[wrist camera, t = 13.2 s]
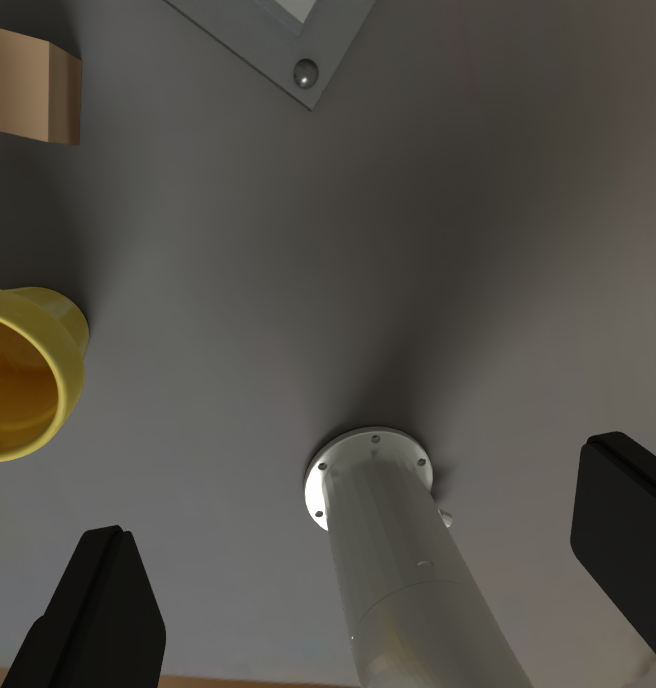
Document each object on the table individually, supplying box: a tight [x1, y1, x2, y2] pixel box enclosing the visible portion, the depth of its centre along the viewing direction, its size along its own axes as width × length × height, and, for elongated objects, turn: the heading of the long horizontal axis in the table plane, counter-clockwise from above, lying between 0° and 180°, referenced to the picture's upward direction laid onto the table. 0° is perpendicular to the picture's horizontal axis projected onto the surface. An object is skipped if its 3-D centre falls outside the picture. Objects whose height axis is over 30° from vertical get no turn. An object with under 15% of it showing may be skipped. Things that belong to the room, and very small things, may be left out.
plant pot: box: [0, 287, 89, 462], centre depth 30 cm, size 10×10×10 cm
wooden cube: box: [0, 29, 82, 145], centre depth 26 cm, size 5×5×5 cm
